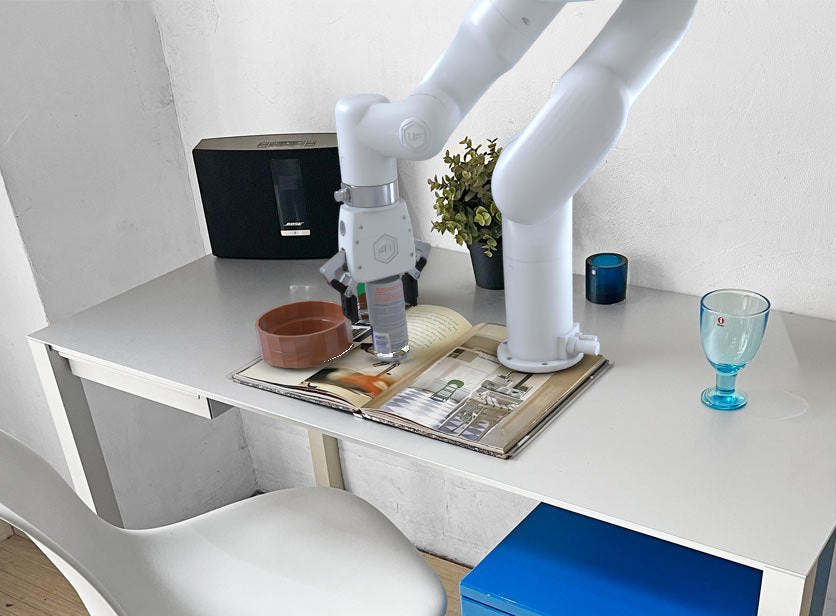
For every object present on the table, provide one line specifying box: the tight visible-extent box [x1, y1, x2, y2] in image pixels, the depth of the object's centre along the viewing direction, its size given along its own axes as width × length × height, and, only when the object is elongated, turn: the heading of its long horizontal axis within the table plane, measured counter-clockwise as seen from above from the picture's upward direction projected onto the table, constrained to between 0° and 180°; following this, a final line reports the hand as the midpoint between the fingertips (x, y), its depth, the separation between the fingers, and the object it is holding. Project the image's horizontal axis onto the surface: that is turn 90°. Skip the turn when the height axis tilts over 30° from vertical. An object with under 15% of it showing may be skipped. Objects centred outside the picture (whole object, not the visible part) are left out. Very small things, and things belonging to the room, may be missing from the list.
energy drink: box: [365, 274, 411, 363], centre depth 143 cm, size 5×5×12 cm
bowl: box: [254, 299, 355, 369], centre depth 148 cm, size 14×14×6 cm
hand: (381, 311), depth 143 cm, fingers open, 9 cm apart
